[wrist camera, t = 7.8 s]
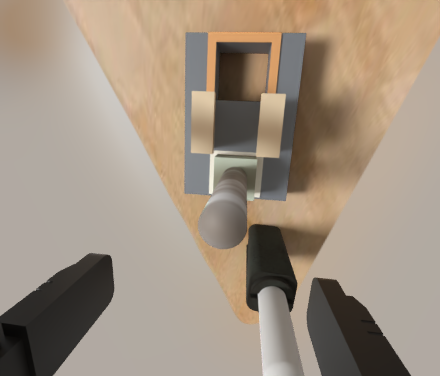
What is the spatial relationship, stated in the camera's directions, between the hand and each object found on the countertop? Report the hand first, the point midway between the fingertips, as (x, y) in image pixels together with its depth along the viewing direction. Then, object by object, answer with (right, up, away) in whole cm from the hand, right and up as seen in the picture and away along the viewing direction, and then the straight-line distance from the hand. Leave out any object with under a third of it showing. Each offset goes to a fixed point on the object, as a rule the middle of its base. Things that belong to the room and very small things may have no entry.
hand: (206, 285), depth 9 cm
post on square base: (+3, +6, +22) cm, 23 cm away
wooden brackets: (+3, +12, +20) cm, 24 cm away
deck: (+3, +13, +24) cm, 28 cm away
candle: (+8, -4, +28) cm, 30 cm away
